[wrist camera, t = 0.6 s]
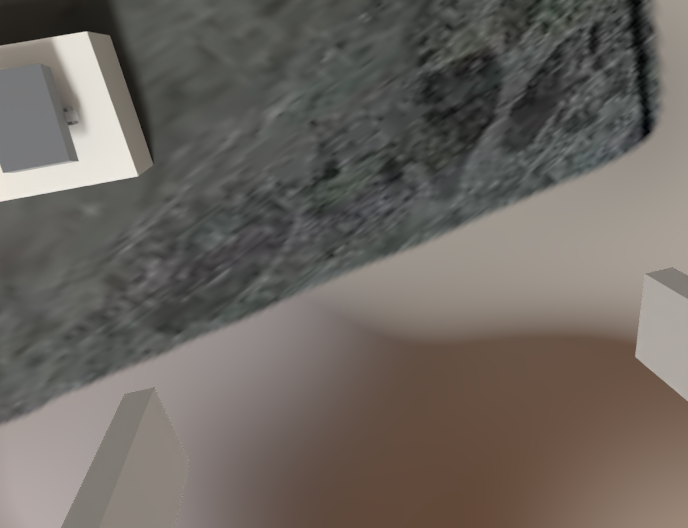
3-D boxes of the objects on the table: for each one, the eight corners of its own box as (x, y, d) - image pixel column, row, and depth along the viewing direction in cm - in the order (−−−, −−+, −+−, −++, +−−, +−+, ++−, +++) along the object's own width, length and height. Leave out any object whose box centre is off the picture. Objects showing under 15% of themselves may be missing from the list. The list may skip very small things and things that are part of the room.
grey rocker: (-17, 78, 27) (-31, 75, 26) (50, 67, 27) (39, 63, 26) (14, 172, 28) (3, 172, 27) (78, 161, 28) (69, 160, 27)
